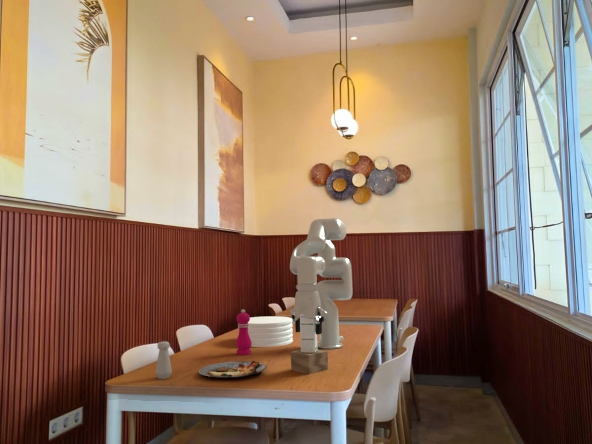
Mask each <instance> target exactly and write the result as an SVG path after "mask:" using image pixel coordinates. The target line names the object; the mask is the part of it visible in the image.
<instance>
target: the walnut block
mask: <svg viewBox="0 0 592 444" xmlns="http://www.w3.org/2000/svg"><path fill="white" fill-rule="evenodd" d="M328 359H329V356H328V351H327V350H323V349H318V350H317V351H316V352H315V353H304V352H301V349H299V350H293V351H290V370H291V371H294V372H299V373H302V374H306V375H311V374H316V373H318V372H319V373H320V372H324V371H327V370H329V360H328Z"/></svg>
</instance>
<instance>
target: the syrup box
mask: <svg viewBox="0 0 592 444" xmlns="http://www.w3.org/2000/svg"><path fill="white" fill-rule="evenodd" d="M316 324H317V323H316V321H315V320H314V318H313V319H307V318H304V315H303V314H301V315H300V332H299V333H300V337H299V338H300V339H299V340H300V350H301V352H304V353H315V352H316V351H317V350H319V348H318V343H319V342H318V335H317V334H316V327H315V325H316Z"/></svg>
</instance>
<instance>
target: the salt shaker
mask: <svg viewBox="0 0 592 444" xmlns="http://www.w3.org/2000/svg"><path fill="white" fill-rule="evenodd" d="M170 345H171V344H170V342H169V341H159V342H158V343H157V349H158V350H159V351H158V356H157V361H156V367H155V375H156V377H157V379H158V380H166V379H167V378H168V379H169V378H170V377H171V375H172V371H173V370H172V365H171V358H170V353H169V348H170Z"/></svg>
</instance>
